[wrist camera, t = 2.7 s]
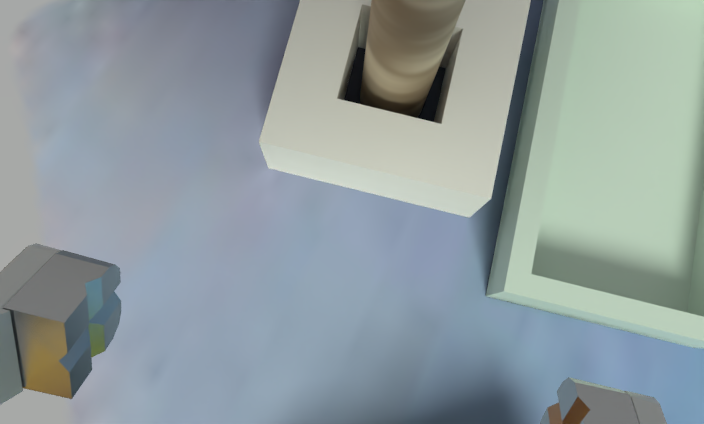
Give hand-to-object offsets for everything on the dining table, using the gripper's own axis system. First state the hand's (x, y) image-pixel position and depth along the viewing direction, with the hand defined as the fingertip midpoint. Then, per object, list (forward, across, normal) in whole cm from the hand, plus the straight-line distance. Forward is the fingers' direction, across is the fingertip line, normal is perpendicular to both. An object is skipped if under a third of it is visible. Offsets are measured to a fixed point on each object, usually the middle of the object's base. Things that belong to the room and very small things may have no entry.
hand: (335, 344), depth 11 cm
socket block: (+21, 0, +3) cm, 21 cm away
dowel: (+21, 0, +3) cm, 21 cm away
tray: (+21, -12, +3) cm, 24 cm away
